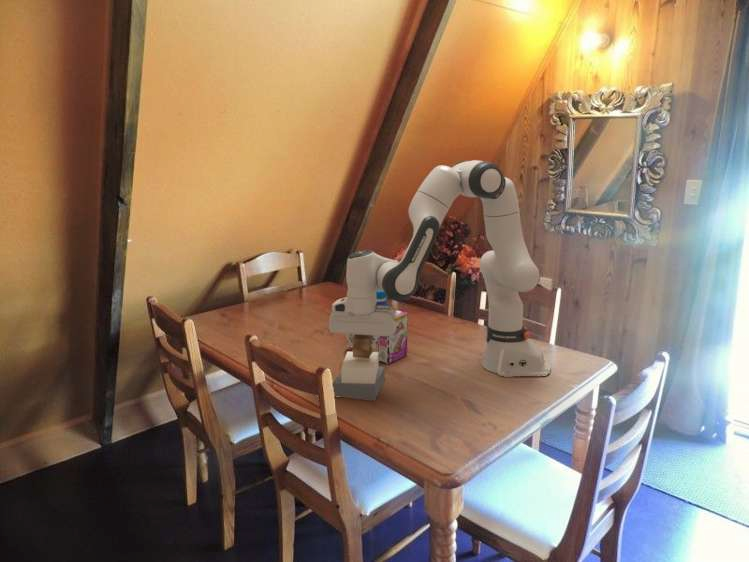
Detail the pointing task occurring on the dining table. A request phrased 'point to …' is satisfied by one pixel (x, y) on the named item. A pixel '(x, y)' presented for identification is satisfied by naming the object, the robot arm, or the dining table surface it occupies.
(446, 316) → the dining table surface
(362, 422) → the dining table surface
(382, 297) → the beverage bottle
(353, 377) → the tower top
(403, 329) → the candy bar box
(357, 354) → the walnut block
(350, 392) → the tower base
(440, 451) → the dining table surface
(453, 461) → the dining table surface
